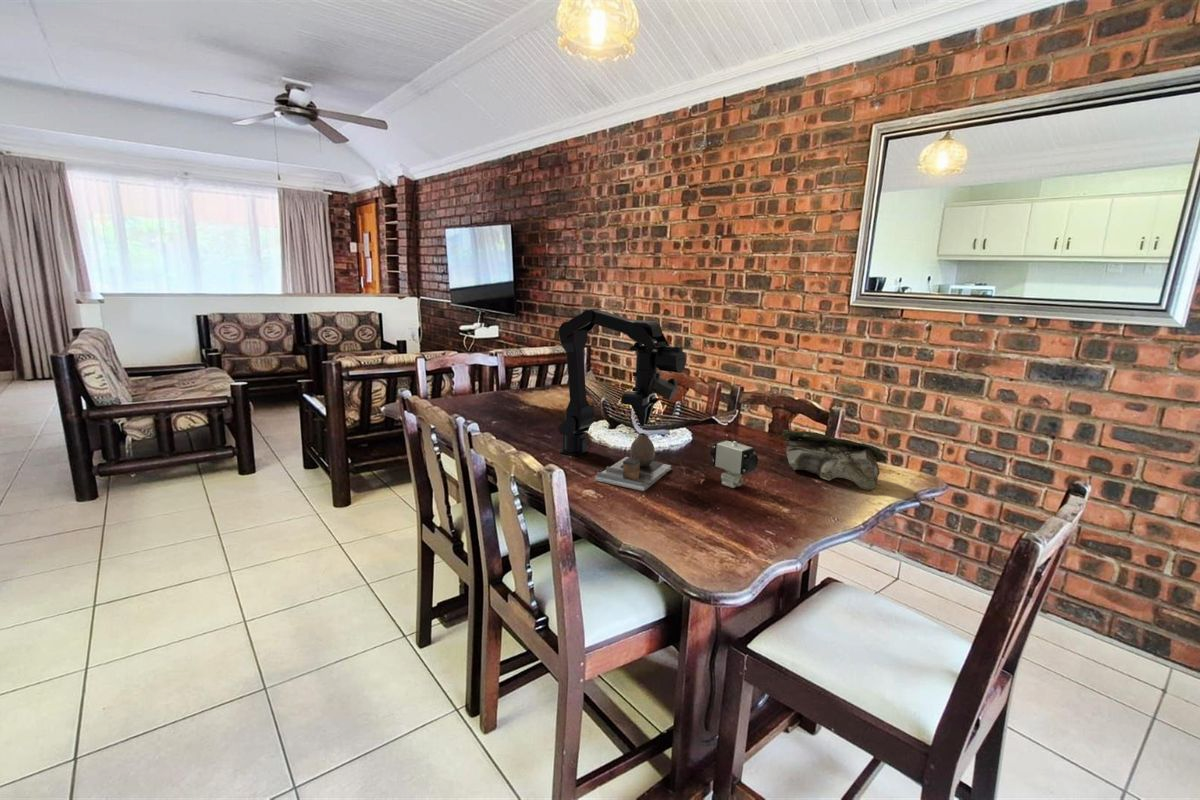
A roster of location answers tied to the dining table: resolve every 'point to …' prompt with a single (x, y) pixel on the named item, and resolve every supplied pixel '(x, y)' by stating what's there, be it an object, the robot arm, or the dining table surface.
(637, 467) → the brown block
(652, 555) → the dining table surface
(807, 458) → the hollow geode rock
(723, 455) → the pneumatic valve
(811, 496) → the dining table surface
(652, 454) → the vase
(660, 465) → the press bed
